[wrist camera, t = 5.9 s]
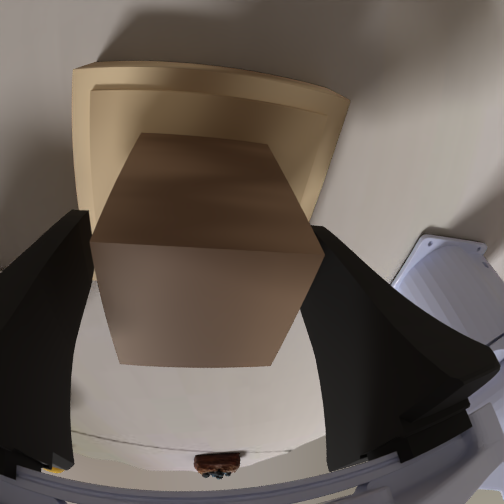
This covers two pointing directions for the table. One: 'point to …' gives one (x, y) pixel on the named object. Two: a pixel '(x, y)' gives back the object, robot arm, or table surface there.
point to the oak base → (198, 120)
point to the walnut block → (202, 254)
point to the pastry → (217, 464)
